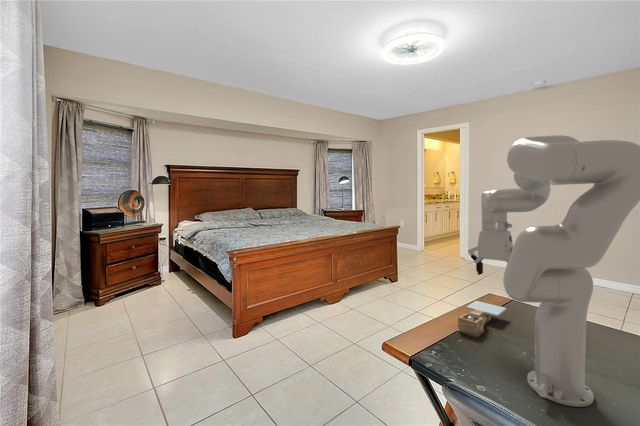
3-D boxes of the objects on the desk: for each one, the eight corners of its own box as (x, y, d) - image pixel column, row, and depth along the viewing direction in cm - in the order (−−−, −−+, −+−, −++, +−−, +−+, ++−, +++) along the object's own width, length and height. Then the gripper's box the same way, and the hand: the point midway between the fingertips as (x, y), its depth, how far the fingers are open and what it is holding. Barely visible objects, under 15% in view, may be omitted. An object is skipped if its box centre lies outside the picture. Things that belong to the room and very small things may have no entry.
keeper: (497, 325, 106) (497, 315, 106) (466, 316, 115) (466, 306, 115) (506, 318, 112) (506, 308, 112) (476, 310, 121) (475, 300, 120)
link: (476, 335, 99) (476, 321, 99) (458, 330, 104) (458, 316, 103) (496, 320, 111) (496, 307, 110) (479, 315, 115) (479, 303, 115)
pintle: (476, 337, 99) (476, 323, 98) (455, 330, 104) (455, 316, 104) (485, 330, 103) (485, 316, 103) (464, 324, 108) (464, 311, 108)
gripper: (527, 226, 97) (528, 278, 98) (472, 225, 110) (473, 270, 111) (520, 228, 92) (521, 282, 93) (463, 226, 105) (464, 274, 106)
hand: (495, 276), depth 102 cm, fingers open, 9 cm apart
